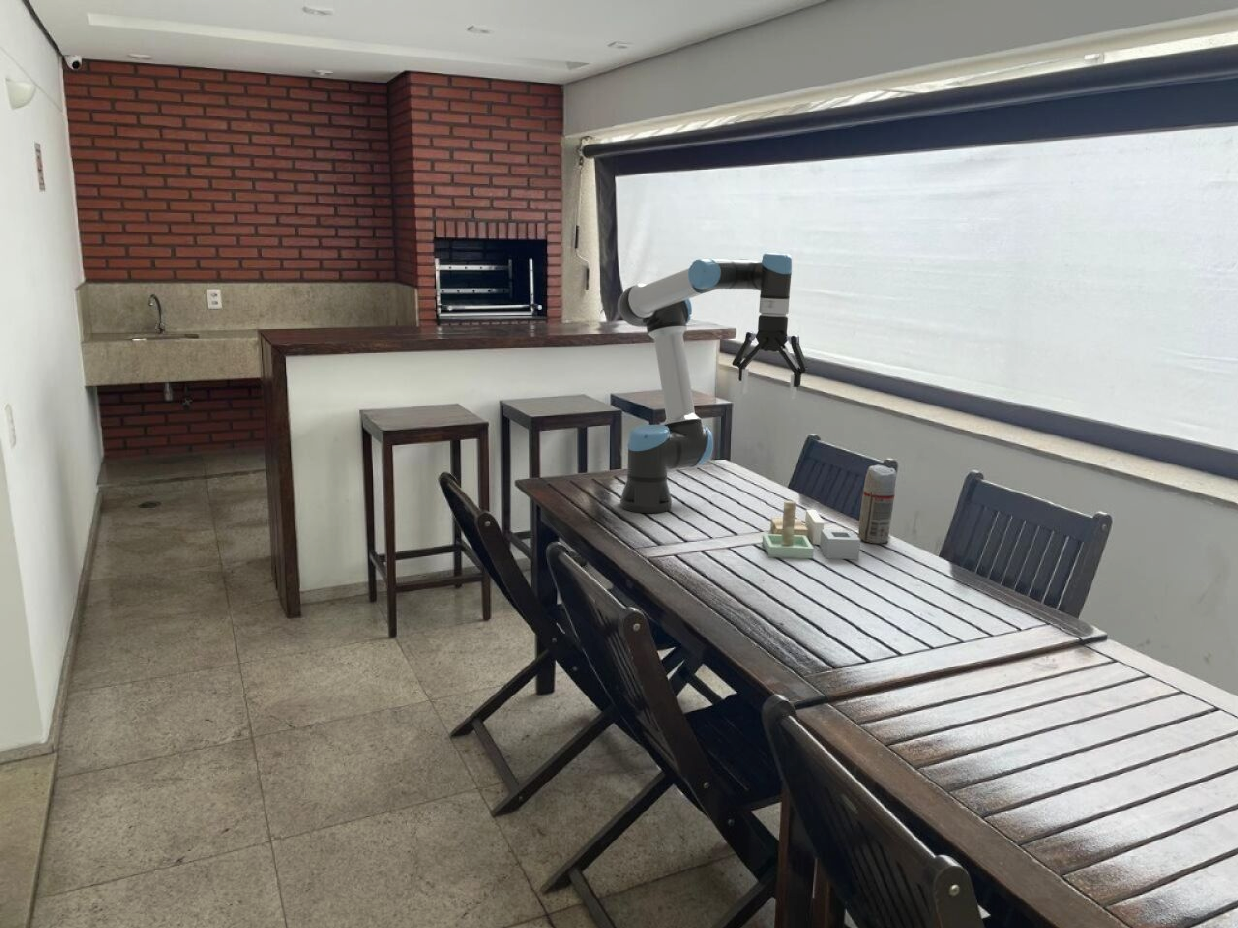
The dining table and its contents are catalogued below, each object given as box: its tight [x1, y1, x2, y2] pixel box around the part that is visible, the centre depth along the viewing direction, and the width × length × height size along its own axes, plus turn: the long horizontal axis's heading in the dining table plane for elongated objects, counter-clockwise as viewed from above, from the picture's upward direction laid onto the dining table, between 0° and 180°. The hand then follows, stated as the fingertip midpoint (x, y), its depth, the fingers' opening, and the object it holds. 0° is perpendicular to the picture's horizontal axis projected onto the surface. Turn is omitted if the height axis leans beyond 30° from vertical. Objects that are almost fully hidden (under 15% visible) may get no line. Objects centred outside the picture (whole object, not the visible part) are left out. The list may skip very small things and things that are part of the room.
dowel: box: [781, 500, 797, 547], centre depth 245 cm, size 3×3×12 cm
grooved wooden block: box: [769, 517, 808, 538], centre depth 257 cm, size 10×8×4 cm
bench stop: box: [804, 509, 825, 546], centre depth 257 cm, size 12×2×6 cm, turn 0°
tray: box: [762, 533, 815, 559], centre depth 246 cm, size 11×11×2 cm
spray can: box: [857, 463, 898, 544], centre depth 256 cm, size 8×8×20 cm
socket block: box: [819, 529, 861, 560], centre depth 245 cm, size 8×8×5 cm
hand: (767, 396), depth 254 cm, fingers open, 13 cm apart
